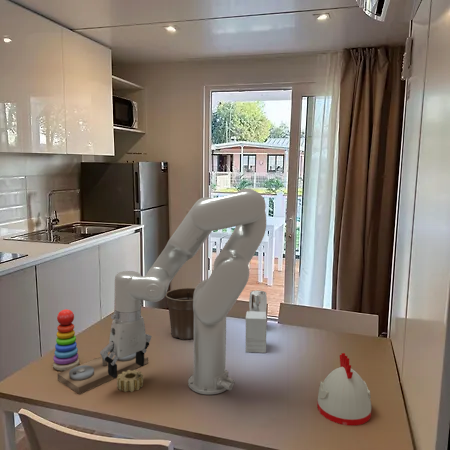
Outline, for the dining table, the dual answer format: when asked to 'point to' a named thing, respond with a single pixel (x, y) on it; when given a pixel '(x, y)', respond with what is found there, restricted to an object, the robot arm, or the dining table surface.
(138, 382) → the brass gear
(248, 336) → the supplement box
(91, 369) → the gear board
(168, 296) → the plant pot
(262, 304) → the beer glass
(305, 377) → the dining table surface
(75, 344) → the stacking toy
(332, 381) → the kitchen timer
